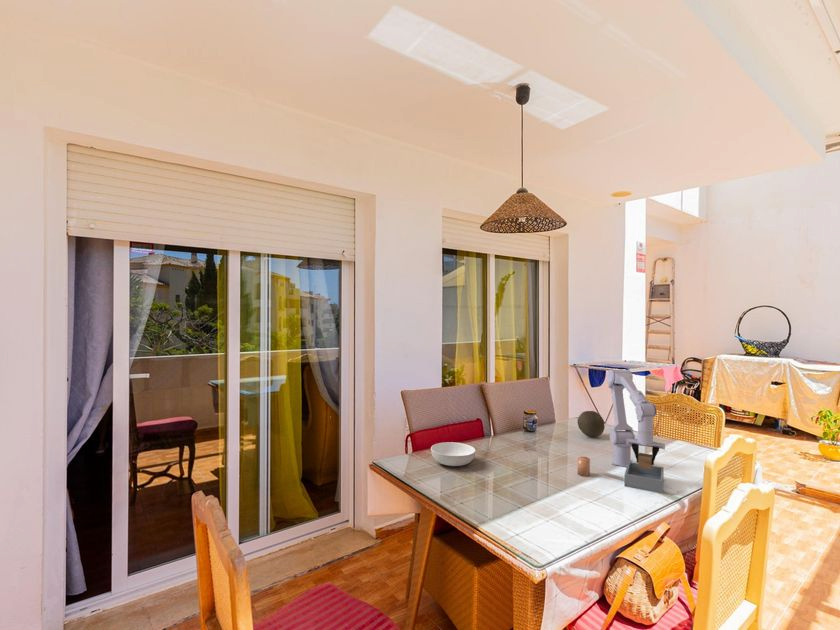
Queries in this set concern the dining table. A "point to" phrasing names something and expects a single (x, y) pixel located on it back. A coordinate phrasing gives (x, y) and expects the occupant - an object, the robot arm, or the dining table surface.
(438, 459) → the serving bowl
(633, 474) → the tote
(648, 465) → the walnut block
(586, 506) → the dining table surface
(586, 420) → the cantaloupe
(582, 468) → the terracotta cylinder
